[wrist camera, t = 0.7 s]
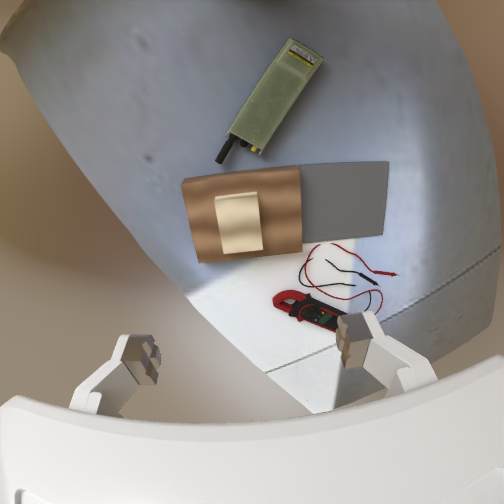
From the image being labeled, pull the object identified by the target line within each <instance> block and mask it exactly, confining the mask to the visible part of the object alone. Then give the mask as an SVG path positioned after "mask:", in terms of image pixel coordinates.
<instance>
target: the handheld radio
mask: <svg viewBox="0 0 504 504" xmlns="http://www.w3.org/2000/svg"><path fill="white" fill-rule="evenodd" d="M324 59H325V58H323V57H322V56H320V55H319V54H317V53H316V52H314V51H313V50H311V49H310V48H308V47H306V46H305V45H303V44H301V43H300V42H298V41H297V40H295V39H293V38H291V37H290V38H289V39H288V40H287V42H286V43H285V44H284V46H283V47H282V49H281V50H280V51H279V53H278V54H277V56H276V57H275V58H274V60H273V61H272V63H271V64H270V66H269V67H268V68H267V70H266V71H265V73H264V74H263V76H262V77H261V79H260V80H259V82H258V83H257V85H256V86H255V88H254V89H253V91H252V92H251V94H250V96H249V97H248V99H247V100H246V102H245V103H244V105H243V107H242V108H241V110H240V111H239V113H238V115H237V116H236V118H235V119H234V121H233V123H232V124H231V126H230V128H229V129H228V131H227V133H226V134H225V136H227V134H228V133H229V132H230V133H231V134H230V136H229V139H228V141H226V142H225V144H224V146H223V148H222V149H221V151H220V153H219V155H218V156H217V158H216V160H215V161H216V162H217V163H218V164H222V163H223V161H224V159H225V157H226V156H227V154H228V152H229V151H230V149H231V147H232V145H233V142H234V141H235V140H236V139H237V137H239V138H241V139H242V140H243V141H242V140H241V142H240V145H241V147H246V146H247V145H248V144H249V143H250V144H252V145H253V146H252V149H251V150H252V151H253V152H256V150H257V148H259V149H261V150H260V152H259V155H260V154H261V153H262V151H263V150H264V148H265V146H266V145H267V143H268V142H269V140H270V139H271V137H272V135H273V134H274V132H275V131H276V129H277V128H278V126H279V125H280V123H281V122H282V120H283V119H284V117H285V116H286V114H287V113H288V111H289V110H290V108H291V107H292V105H293V104H294V102H295V101H296V99H297V98H298V96H299V95H300V93H301V92H302V90H303V89H304V87H305V86H306V84H307V83H308V81H309V80H310V79H311V77H312V76H313V74H314V73H315V71H316V70H317V69H318V67H319V66H320V64H321V63H322V61H323V60H324Z"/></svg>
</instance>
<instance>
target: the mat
mask: <svg viewBox="0 0 504 504" xmlns="http://www.w3.org/2000/svg"><path fill="white" fill-rule="evenodd" d="M299 170H300V186H301V212H302V243H311V242H320V241H329V240H338V239H347V238H357V237H366V236H375V235H382V234H383V226H384V218H385V208H386V198H387V185H388V170H389V162H346V163H324V164H308V165H299Z"/></svg>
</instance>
